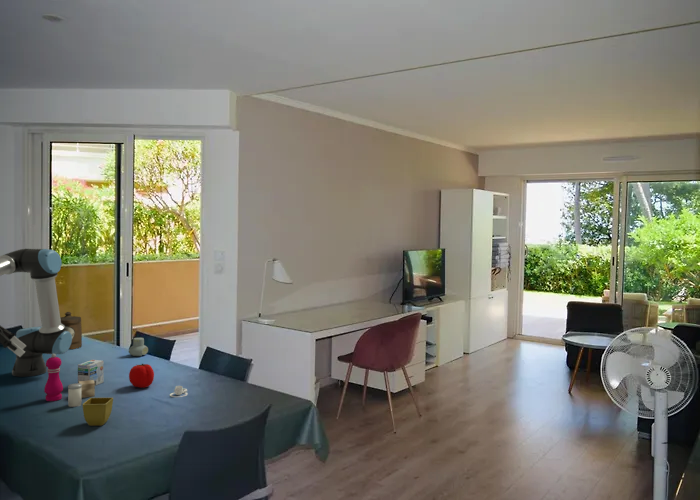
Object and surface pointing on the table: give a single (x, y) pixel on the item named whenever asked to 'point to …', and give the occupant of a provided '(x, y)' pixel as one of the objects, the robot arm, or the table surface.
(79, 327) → the wooden container
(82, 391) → the light oak block
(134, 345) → the air freshener
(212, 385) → the table surface
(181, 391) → the teacup and saucer
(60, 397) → the pepper mill
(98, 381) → the light bulb box
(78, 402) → the salt shaker
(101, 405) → the flower pot
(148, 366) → the tomato
